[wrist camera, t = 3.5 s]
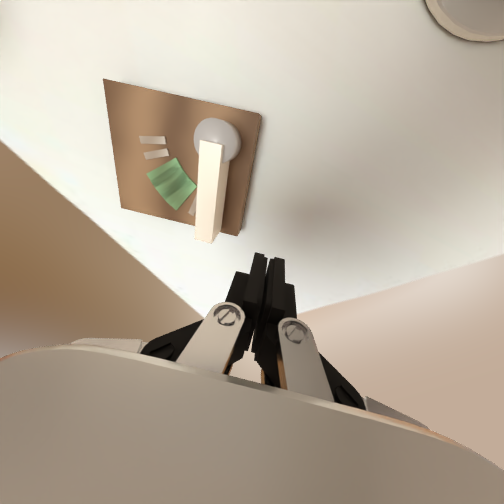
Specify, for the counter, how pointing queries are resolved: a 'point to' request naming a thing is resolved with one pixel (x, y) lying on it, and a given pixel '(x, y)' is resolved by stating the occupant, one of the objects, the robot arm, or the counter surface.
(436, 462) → the robot arm
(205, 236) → the dial needle
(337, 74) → the counter surface
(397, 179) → the counter surface
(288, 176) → the counter surface
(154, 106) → the dial board
